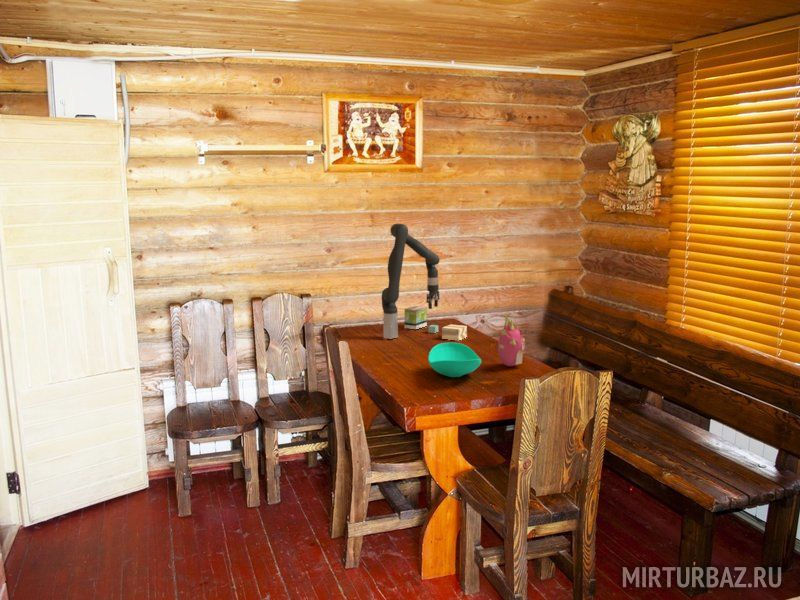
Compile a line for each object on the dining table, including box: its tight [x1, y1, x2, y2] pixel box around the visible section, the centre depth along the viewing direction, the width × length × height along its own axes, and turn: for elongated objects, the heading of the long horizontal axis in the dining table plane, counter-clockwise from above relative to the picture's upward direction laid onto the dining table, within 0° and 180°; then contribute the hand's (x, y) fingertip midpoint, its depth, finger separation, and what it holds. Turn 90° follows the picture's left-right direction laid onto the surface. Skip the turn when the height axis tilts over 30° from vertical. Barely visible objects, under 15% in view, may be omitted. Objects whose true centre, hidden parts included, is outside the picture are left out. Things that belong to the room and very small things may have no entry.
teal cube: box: [427, 324, 439, 334], centre depth 471 cm, size 5×5×5 cm
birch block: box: [441, 323, 468, 342], centre depth 453 cm, size 12×12×8 cm
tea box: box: [404, 305, 428, 330], centre depth 486 cm, size 15×10×15 cm
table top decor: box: [427, 342, 482, 378], centre depth 369 cm, size 40×28×13 cm
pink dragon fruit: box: [497, 312, 526, 367], centre depth 383 cm, size 18×14×30 cm
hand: (433, 307), depth 469 cm, fingers open, 8 cm apart
